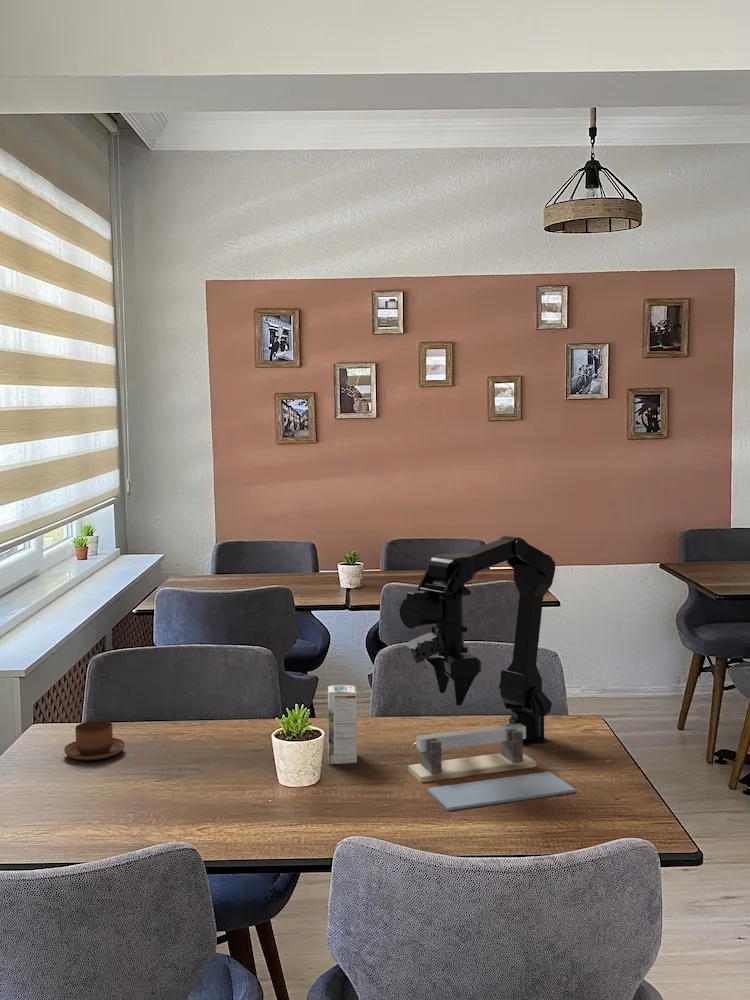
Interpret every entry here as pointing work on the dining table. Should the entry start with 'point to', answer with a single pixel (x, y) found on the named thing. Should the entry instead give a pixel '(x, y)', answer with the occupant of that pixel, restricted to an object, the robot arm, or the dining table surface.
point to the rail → (470, 737)
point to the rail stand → (471, 761)
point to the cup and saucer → (94, 741)
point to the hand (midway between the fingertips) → (450, 698)
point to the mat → (499, 790)
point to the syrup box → (342, 724)
